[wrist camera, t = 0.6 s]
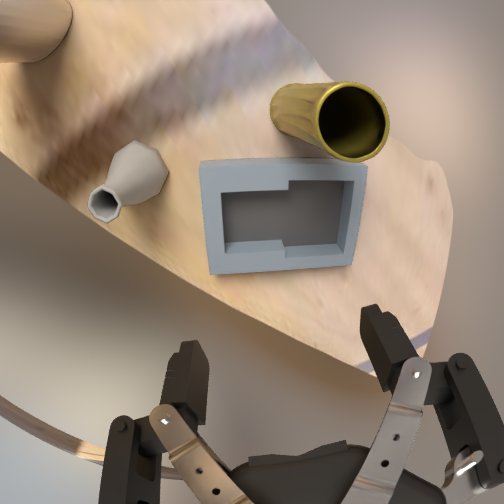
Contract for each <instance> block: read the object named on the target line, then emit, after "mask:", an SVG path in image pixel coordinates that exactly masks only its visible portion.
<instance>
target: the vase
mask: <svg viewBox="0 0 504 504" xmlns="http://www.w3.org/2000/svg"><path fill="white" fill-rule="evenodd" d="M270 115H271V118H272V121H273V123H274V124H275V126H276V127H277V128H278V129H279V130H280V131H281V132H283V133H285V134H287V135H290V136H293V137H298V138H300V139H302V140H304V141H306V142H308V143H310V144H312V145H314V146H316V147H318V148H319V149H321V150H323V151H325V152H326V153H328V154H329V155H331V156H333V157H335V158H337V159H339V160H342V161H346V162H352V163H359V162H362V161H365V160H368V159H370V158H372V157H374V156H375V155H377V154H378V153H379V152H380V151H381V149H382V148H383V147H384V145H385V143H386V141H387V138H388V133H389V126H390V121H389V115H388V112H387V109H386V106H385V104H384V102H383V101H382V99H381V98H380V96H379V95H378V94H377V93H375V92H374V91H373V90H372V89H371V88H369V87H367V86H366V85H363V84H359V83H356V82H348V81H345V82H332V83H315V84H298V83H293V84H289V85H286V86H284V87H282V88H280V89H279V90H278V91H277V92H276V93H275V95H274V96H273V98H272V100H271V103H270Z"/></svg>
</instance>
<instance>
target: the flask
mask: <svg viewBox="0 0 504 504" xmlns="http://www.w3.org/2000/svg"><path fill="white" fill-rule="evenodd" d="M168 173H169V170H168V169H167V167H166V165H165V163H164V161H163V160H162V158H161V156H160V154H159V152H158V150H157V149H154V148H152V147H150V146H148V145H145V144H143V143H141V142H138V141H136V140H134V141H133V142H131V143H129V144H128V145H126V146H125V147H123V148H122V149H120V150H119V151H117V152H116V153H115V154H114V157H113V159H112V162H111V165H110V168H109V171H108V174H107V177H106V182H105V183H104V184H103V185H101V186H99V187H98V188H97V189H95V190H94V191H92V192H91V193H90V197H89V200H88V204H87V207H88V208H89V210H90V212H91V213H92V215H93V216H94V218H96V219H98V220H100V221H102V222H104V223H109V222H111V221H112V220H114V219H116V218H117V217H118V216H119V214H120V211H121V208H122V206H127V205H137V204H141V203H143V202H144V201H146V200H148V199H150V198H152V197H153V196H155V195H157V194H159V193H160V191H161V188H162V186H163V184H164V182H165V179H166V177H167V175H168Z"/></svg>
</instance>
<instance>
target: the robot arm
mask: <svg viewBox="0 0 504 504" xmlns="http://www.w3.org/2000/svg"><path fill="white" fill-rule="evenodd" d="M71 19H72V8H71V5H70V3H69V2H68V1H66V0H0V63H8V62H20V63H27V62H30V63H31V62H37V61H40V60H42V59H44V58H45V57H47V56H48V55H49V54H50V53H52V52H53V51H54V50H55V49H56V48H57V46H58V45H59V44H60V43H61V41H62V40H63V38H64V36H65V35H66V33H67V31H68V29H69V26H70V23H71ZM360 335H361V339H362V342H363V344H364V346H365V349H366V351H367V353H368V356H369V358H370V360H371V363H372V365H373V368H374V370H375V372H376V375H377V377H378V380H379V382H380V384H381V387H382V390H383V392H386V391H389V390H390V391H391V393H392V398H391V400H390V403H389V406H388V408H387V411H386V413H385V416H384V418H383V421H382V423H381V426H380V428H379V430H378V432H377V435H376V437H375V439H374V441H373V443H372V445H371V447H370V448H368V447H364V446H360V445H352V444H350V445H347V443H346V440H343V441H339V442H335V443H331V444H327V445H323V446H320V447H318V448H316V449H314V450H311V451H309V452H307V453H305V454H302V455H299V456H287V455H275V454H271V455H262V456H251V457H249V462H246V463H244V464H242V465H240V466H238V467H236V468H235V469H233V470H232V471H231V470H230V469H229V468H228V466H227V465H226V464H225V463H223V461H221V459H220V458H219V457H218V456H217V455H216V454H215V453H214V452H213V450H212V449H211V448H210V447H209V446H208V445H207V443H206V442H205V441H204V440H203V438H202V437H201V436H200V435H199V433H198V432H197V429H198V425H205V421H206V405H207V392H208V380H209V363H208V359H207V357H206V355H205V353H204V351H203V350H202V348H201V346H200V344H199V342H198V341H197V340H193V341H184V342H182V343H181V346H180V351H179V353H174V354H173V355H172V357H171V358H170V360H169V362H168V366H167V372H166V376H165V377H166V378H165V381H164V385H163V390H162V395H161V400H160V404H159V406H157V407H156V408H154V409H153V410H152V412H151V413H150V415H149V416H146V417H143V418H139V419H136V420H133V419H131V418H130V417H128V416H125V415H123V416H119V417H117V418H116V419H114V420H113V422H112V423H111V426H110V430H109V436H108V441H107V446H106V452H105V458H104V464H103V470H102V477H101V485H100V493H99V503H98V504H160V479H161V461H162V453H165V452H168V453H169V455H170V456H169V460H170V461H171V463H172V464H173V466H174V467H175V469H176V470H177V472H178V473H179V474H180V476H181V477H182V479H183V480H184V481H185V483H186V484H187V485H188V487H189V488H190V489H191V491H192V492H193V493H194V494H195V496H196V497H197V498H198V499H199V501H200V502H201V503H202V504H462V503H464V502H465V501H467V500H469V499H471V498H472V497H474V496H476V495H478V494H481V493H483V492H485V491H487V490H490V489H492V488H494V487H496V486H498V485H500V484H502V483H504V424H503V422H502V420H501V417H500V415H499V412H498V410H497V408H496V406H495V404H494V401H493V399H492V397H491V395H490V393H489V391H488V389H487V387H486V385H485V383H484V381H483V379H482V377H481V375H480V373H479V371H478V369H477V367H476V366H475V364H474V362H473V360H472V359H471V357H470V356H468V355H467V354H464V353H456V354H454V355H452V356H451V357H450V359H449V361H448V362H438V363H430V362H428V361H427V360H426V359H424V358H422V357H419V355H418V354H417V352H416V350H415V349H414V347H413V345H412V343H411V342H410V340H409V338H408V336H407V335H406V333H405V332H404V330H403V328H402V326H401V325H400V323H399V321H398V320H397V318H396V317H395V316H394V315H392V314H391V313H390V312H388V311H387V312H384V313H382V312H381V310H380V308H379V306H378V305H377V304H373V305H369V306H366V307H362V308H361V318H360ZM432 404H433V405H434V408H435V411H436V414H437V416H438V419H439V422H440V425H441V428H442V430H443V433H444V436H445V439H446V442H447V446H448V449H449V452H450V455H451V460H450V461H449V462H448V464H447V465H446V468H445V481H444V484H443V486H442V487H441V489H440V488H439V487H437V486H435V485H433V484H431V483H430V482H427V481H426V480H424V479H422V478H420V477H418V476H416V475H415V474H413V473H411V472H409V471H407V470H406V469H404V466H405V463H406V461H407V459H408V456H409V453H410V451H411V448H412V445H413V443H414V440H415V437H416V434H417V431H418V428H419V425H420V422H421V419H422V415H423V412H422V408H423V405H432Z"/></svg>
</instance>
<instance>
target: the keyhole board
mask: <svg viewBox="0 0 504 504" xmlns="http://www.w3.org/2000/svg"><path fill="white" fill-rule="evenodd" d="M367 169H368V166H366V165H365V164H363V163H361V162H359V163H352V162H346V161H342V160H339V159H329V158H248V159H226V160H211V161H201V163H200V166H199V176H200V188H201V199H202V209H203V219H204V229H205V238H206V247H207V255H208V263H209V271H210V275H217V274H234V273H250V272H265V271H279V270H293V269H307V268H319V267H332V266H344V265H352V261H353V256H354V251H355V246H356V241H357V235H358V230H359V224H360V218H361V212H362V206H363V200H364V193H365V185H366V178H367Z"/></svg>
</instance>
